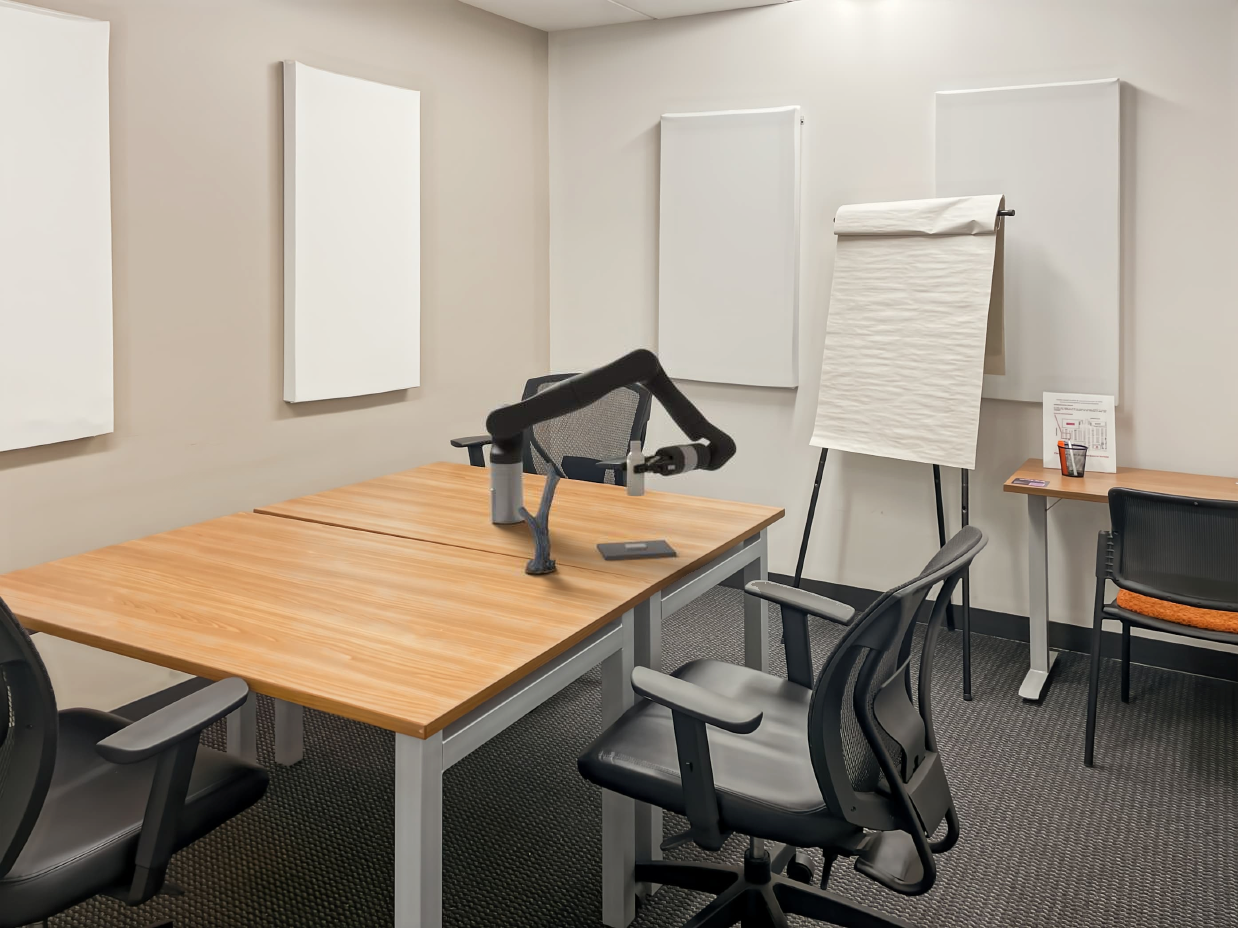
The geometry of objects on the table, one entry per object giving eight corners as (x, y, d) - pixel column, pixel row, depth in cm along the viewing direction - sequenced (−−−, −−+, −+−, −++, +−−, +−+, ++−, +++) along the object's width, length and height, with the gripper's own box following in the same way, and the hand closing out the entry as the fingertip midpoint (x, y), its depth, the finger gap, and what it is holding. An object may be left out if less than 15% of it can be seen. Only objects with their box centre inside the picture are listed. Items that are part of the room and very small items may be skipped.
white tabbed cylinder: (629, 496, 240) (628, 443, 238) (625, 492, 245) (625, 440, 242) (646, 495, 241) (646, 442, 239) (642, 492, 245) (642, 439, 243)
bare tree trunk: (544, 577, 224) (542, 471, 220) (515, 572, 228) (513, 468, 223) (568, 564, 234) (567, 463, 230) (540, 560, 238) (539, 460, 233)
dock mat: (605, 560, 238) (605, 553, 238) (596, 547, 250) (596, 541, 249) (676, 555, 242) (676, 549, 241) (664, 543, 253) (664, 537, 253)
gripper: (656, 442, 256) (608, 449, 244) (696, 448, 245) (647, 457, 234) (656, 470, 257) (608, 479, 246) (695, 478, 247) (647, 487, 235)
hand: (627, 468), depth 240 cm, fingers closed on white tabbed cylinder, 4 cm apart
